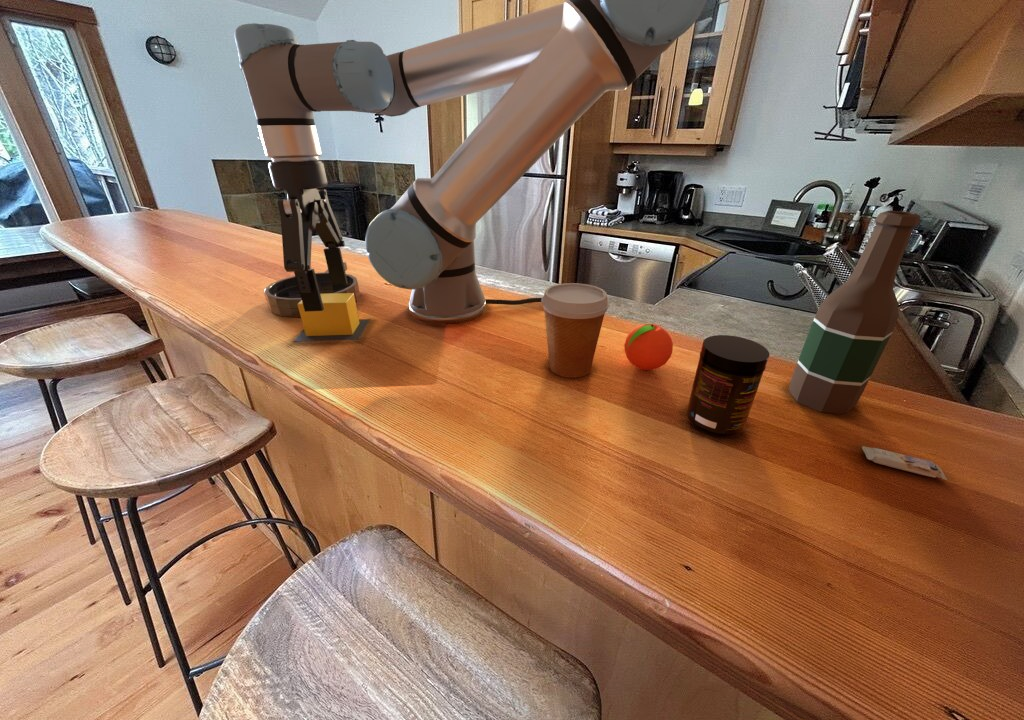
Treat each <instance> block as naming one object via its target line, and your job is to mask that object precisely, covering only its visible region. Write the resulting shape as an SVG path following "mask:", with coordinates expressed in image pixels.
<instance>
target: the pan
mask: <svg viewBox="0 0 1024 720" xmlns="http://www.w3.org/2000/svg"><path fill="white" fill-rule="evenodd" d="M315 275H316V279H317V283H318V287H319V291H320V294H329V293H354V297H355V302H356V304H357V303H358V302H359V300H360V299H361V293H360V288H359V287H360V286H359V283H358V278H357V277H356V276H354V275H352V274H349V273H346V278H347V282H348V283H347V284H333V285H332V284H331V279H330V275H329V272H325V271H324V272H315ZM263 294H264V297H265V301H266V304H267V308H268V310H269V311H270V313H272V314H274V315H277V316H279V317H286V318H287V317H288V318H301V315H300V312H299V308H298V303H299V302H300V301H301V300H302V299H301V295H300V292H299V288H298V285H297V281H296V277H295V275H292V276H289V277H286V278H282V279H279V280H276V281H274V282H272V283H270V284H268V286H266V287H265V288H264V290H263Z"/></svg>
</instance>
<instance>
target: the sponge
mask: <svg viewBox="0 0 1024 720" xmlns="http://www.w3.org/2000/svg"><path fill="white" fill-rule="evenodd" d="M320 295H321V299H322V303H323V307H324V310H323V311H306V312H305V310H304V306H303V303H302V300H301V301H300V302H299V303H298V308H299V312H300V315H301V317H300V320H301V322H302V327H303V329H304V330H305V334H306V336H325V335H353V333H354V332H355V330H356V328H357V327H358V325H359V320H360V318H359V312H358V308H357V303H356V302H355V297H354V293H329V294H320Z"/></svg>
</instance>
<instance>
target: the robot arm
mask: <svg viewBox="0 0 1024 720" xmlns="http://www.w3.org/2000/svg"><path fill="white" fill-rule="evenodd" d="M707 1H708V0H565V1H564V2H562V3H560V4H559V3H558V4H557V5H553V6H550V7H546V8H543V9H540V10H536V11H532V12H529V13H526V14H523V15H519V16H516V17H513V18H509V19H506V20H502V21H499V22H495V23H491V24H489V25H486V26H481V27H478V28H475V29H472V30H469V31H466V32H461V33H458V34H455V35H452V36H448V37H444V38H441V39H437V40H435V41H431V42H428V43H425V44H421V45H418V46H417V45H416V46H414V47H410V48H408V49H405V50H403V51H398V52H395V53H394V52H393V53H391V54H388V55H386V54H385V53H384V50H383V49H382V47H381V46H380V45H379V44H377V43H376V42H374V41H357V40H355V39H347V40H345V41H341V42H340V41H339V42H338V41H336V42H325V43H324V42H323V43H310V44H300V43H299V42H298V38H297V35H296V34H295V33H294V31H293V30H292V29H290V28H288V27H286V26H282V25H278V24H272V23H253V22H252V23H245V24H241V25H238V27H236V28H235V30H234V41H235V46H236V51H237V56H238V59H239V68H240V71H241V73H242V76H243V79H244V83H245V85H246V86H245V87H246V88H247V92H248V94H249V95H248V96H249V99H250V102H251V105H252V108H253V111H254V115H255V120H256V125H257V128H258V132H259V134H258V136H257V138H258V140H259V141H260V142H261V144H262V146H263V150H264V154H265V156H266V157H267V158H270V159H271V161H270V162H268V164H267V167H268V170H269V174H270V178H271V181H272V185H273V187H274V188H275V190H279V191H280V190H281V191H285V192H286V196H287V198H286V199H282V198H281V199H277V206H278V210H279V216H280V227H281V239H282V240H281V241H282V242H281V243H282V257H283V268H284V270H285V271H286V272H287V273H292V272H293V273H294V276H295V277H296V281H297V285H298V288H299V292H300V295H301V299H302V303H303V306H304V310H305V312H306V311H323V310H324V307H323V303H322V299H321V295H320V291H319V287H318V283H317V279H316V275H315V273H316V271H315V268H311V267H312V266H311V265H312V264H311V263H312V243H313V231H315V232H316V234H317V236H318V237H319V240H321V242H322V243H323V245H324V247H325V248H323V253H324V259H325V263H326V266H327V270H328V271H329V275H330V279H331V284H332V285H333V284H347V283H348V282H347V278H346V274H347V273H346V271H345V268H344V264H343V262H344V259H343V254H342V251H341V248H344V247H345V246H346V244H345V241H344V240H343V239H344V238H343V235H342V232H341V230H340V228H339V227H340V226H339V224H338V222H337V220H336V217H335V214H334V212H333V208H332V207H331V204H330V201H329V197H328V193H327V189H322V188H326V187H327V186H328V179H327V174H326V169H325V165H324V162H322V160H320V159H319V157H321V155H323V153H322V149H321V145H320V140H319V135H318V130H317V127H316V123H315V122H316V121H315V117H314V113H317V112H318V113H319V112H357V113H366V114H376V115H381V116H387V117H400V116H403V115H406V114H408V113H409V112H410V111H412V110H415V109H418V108H421V107H424V106H428V105H432V104H437V103H440V102H443V101H449V100H453V99H456V98H459V97H463V96H468V95H471V94H476V93H479V92H483V91H487V90H491V89H495V88H500V87H503V86H507V85H511V84H512V85H511V86H510V87H509V88H508V89H507V90H506V92H505V93H504V94H503V95H502V96H501V97H500V99H499V100H497V102H496V103H495V104H494V106H493V107H492V108H491V109H490V110H489V111H488V113H486V115H484V117H483V119H481V121H479V123H478V124H477V125H476V126H475V128H473V130H472V131H471V132H470V133H469V135H468V136H467V137H466V138H465V139H464V141H463V142H462V143H461V144H460V145H459V146H458V147H457V148H456V150H455V151H454V152H453V153H452V154H451V155H450V157H449V158H448V159H447V160H446V161H445V163H444V164H443V165H442V166H441V167H440V168H439V170H438V171H437V172H436V173H435V174H434V175H433V176H432V177H431V178H430V177H418V178H416V179H414V181H413V182H412V183H411V184H410V186H409V187H408V188H407V189H406V190H405V191H404V193H403V194H402V195H401V196H400V197H399V198H398V200H397V201H396V202H395V203H394V204H393V206H391V207H390V208H389V209H385V210H383V211H381V212H380V213H377V214H376V216H375V217H374V218H373V219H372V220H371V221H370V223H369V225H368V226H367V228H366V231H365V236H364V246H365V248H366V256H367V258H368V260H369V263H370V264H371V266H372V268H373V269H374V270H375V271H376V273H377V274H378V275H379V276H380V277H381V278H382V279H383V280H384V281H386V282H387V283H389V284H390V285H392V286H394V287H397V288H399V289H405V290H411V292H410V297H409V301H408V308H409V314H410V316H411V317H412V318H414V319H416V320H418V321H421V322H424V323H428V324H439V325H441V324H444V325H446V326H447V325H458V324H464V323H468V322H471V321H474V320H476V319H479V318H480V317H481V316H483V315H484V314H485V312H487V311H486V310H487V305H503V306H504V305H505V306H520V305H525V304H532V303H542V302H541V299H542V297H529V298H522V299H500V298H499V299H495V298H494V299H493V298H492V299H491V298H486V297H485V295H484V291H483V289H482V286H481V283H480V281H479V278H478V275H477V272H476V254H475V240H476V237H477V230H476V229H477V226H476V225H477V223H478V222H479V221H480V220H481V219H482V218H483V217H484V216H485V215H486V214H487V213H488V212H489V211H490V210H491V209H492V208H493V207H494V205H496V204H497V203H498V202H499V201H500V200H501V199H502V198H503V196H505V194H506V193H508V191H510V189H511V188H512V187H514V185H516V184H517V182H518V181H519V180H520V179H521V178H523V176H524V175H525V174H526V173H527V172H529V170H530V169H531V168H532V167H533V166H534V165H535V164H536V163H537V162H538V161H539V160H540V159H541V158H542V157H543V156H544V155H545V154H546V153H547V152H548V151H549V150H550V148H552V147H553V146H554V145H555V144H556V143H557V142H558V141H559V140H560V139H561V137H563V135H565V133H567V131H568V130H569V129H571V127H572V126H573V125H575V123H576V122H577V121H578V120H579V119H580V118H581V117H582V116H583V115H584V114H586V112H587V111H588V110H589V109H590V108H591V107H592V106H593V105H594V104H595V103H596V102H597V101H598V100H599V99H600V98H601V97H602V96H603V95H604V94H605V93H606V92H609V91H625V90H627V89H628V88H629V87H630V86H631V85H632V84H633V83H634V82H635V81H636V80H637V79H638V78H639V77H640V76H641V75H642V74H643V73H644V72H645V71H646V70H647V69H648V68H649V67H650V66H651V65H652V64H653V63H654V62H655V61H656V60H657V59H659V57H660V56H661V55H662V54H664V53H665V52H666V51H667V50H668V49H669V48H670V47H671V46H672V45H673V44H674V43H675V42H676V40H677V39H678V38H680V37H681V36H683V35H684V34H685V33H686V32H687V31H689V30H690V28H691V27H693V25H694V24H695V23H696V22H697V20H698V19H699V17H700V16H701V14H702V13H703V10H704V8H705V6H706V4H707Z"/></svg>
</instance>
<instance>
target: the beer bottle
mask: <svg viewBox="0 0 1024 720" xmlns="http://www.w3.org/2000/svg"><path fill="white" fill-rule="evenodd" d="M920 220H921V215H920V214H918V213H915V212H911V211H902V210H886V211H883V212H879V213H878V215H877V216H876V217H875V219H874V220H873V222H874V223H875V226H874V228H873V231H872V232H871V234H870V237H869V239H868V241H867V243H866V244H865V247H864V249H863V251H862V253H861V255H860V257H859V259H858V261H857V263H856V266H855V267H854V269H853V271H852V272H851V274H850V276H849V277H848V279H847V280H846V282H844V283H842V285H840V286H838V288H836V289H834V290H833V291H832V292H831V293H830V294H829V295H828V296H827V297H826V298H825V299H824V300H823V301H822V302H821V303H820V305H819V306H818V309H817V311H816V312H815V315H814V317H813V320H812V323H811V325H810V328H809V331H808V333H807V336H806V338H805V341H804V344H803V347H802V348H801V351H800V354H799V357H798V359H797V362H796V364H795V367H794V369H793V373H792V375H791V378H790V382H789V385H788V392H789V393H790V395H791V396H792V398H794V400H795V401H796V403H798V404H801V405H803V406H805V407H808V408H810V409H812V410H814V411H816V412H819V413H824V414H837V415H845V414H847V413H849V411H851V410H852V409H853V408H854V407H855V406H856V405H857V404H858V402H859V400H860V399H861V397H862V395H863V393H864V391H865V390H866V387H867V385H868V383H869V381H870V379H871V377H872V375H873V373H874V370H875V369H876V367H877V365H878V363H879V360H880V359H881V356H882V355H883V352H884V351H885V349H886V346H887V344H888V342H889V340H890V338H891V336H892V334H893V332H894V329H895V327H896V324H897V323H898V322H897V321H898V318H899V300H898V298H897V296H896V293H895V290H894V287H895V286H894V285H895V280H896V277H897V273H898V270H899V267H900V265H901V263H902V260H903V257H904V255H905V251H906V249H907V247H908V243H909V241H910V238H911V236H912V233H913V231H914V228H915V227H917V226H919V225H920V222H921V221H920Z"/></svg>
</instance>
